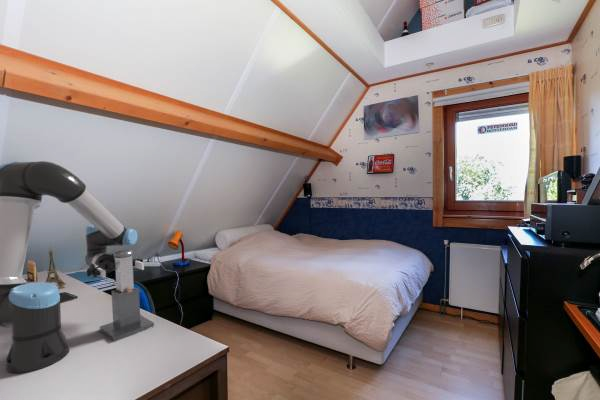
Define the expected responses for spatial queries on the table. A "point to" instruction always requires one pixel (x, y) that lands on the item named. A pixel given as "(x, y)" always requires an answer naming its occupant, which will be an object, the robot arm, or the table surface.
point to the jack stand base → (125, 316)
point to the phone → (66, 297)
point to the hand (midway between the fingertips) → (124, 270)
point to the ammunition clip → (31, 271)
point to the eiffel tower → (56, 278)
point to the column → (124, 270)
